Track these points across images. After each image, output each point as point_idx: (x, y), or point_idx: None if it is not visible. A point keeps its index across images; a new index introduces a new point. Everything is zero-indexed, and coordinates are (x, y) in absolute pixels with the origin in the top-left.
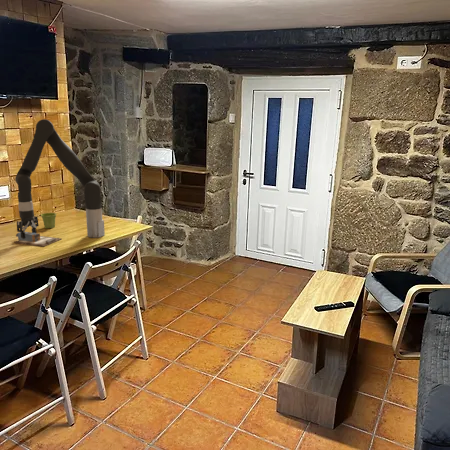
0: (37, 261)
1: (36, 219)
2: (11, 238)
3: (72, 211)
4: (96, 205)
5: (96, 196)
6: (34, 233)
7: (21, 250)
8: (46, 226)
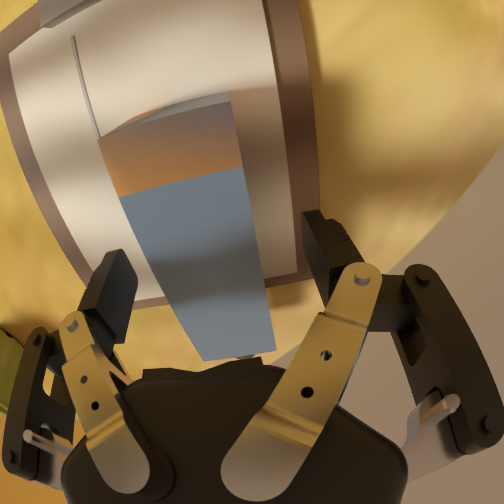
0: None
1: (20, 434)
2: None
3: None
4: None
5: None
6: (157, 208)
7: (451, 62)
8: (15, 350)
